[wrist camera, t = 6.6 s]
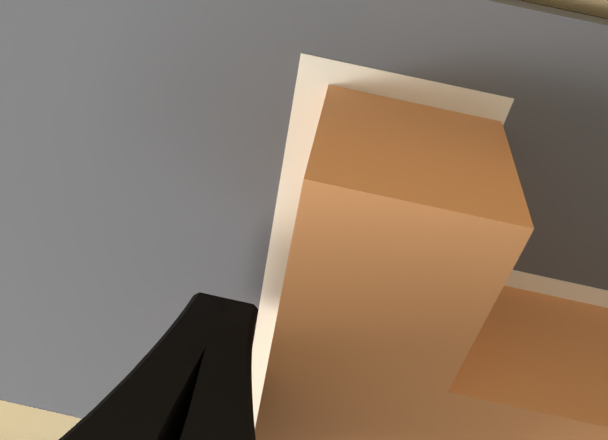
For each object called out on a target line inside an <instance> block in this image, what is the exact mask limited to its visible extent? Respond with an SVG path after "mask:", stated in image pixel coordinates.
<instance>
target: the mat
mask: <svg viewBox="0 0 608 440" xmlns="http://www.w3.org/2000/svg"><path fill="white" fill-rule="evenodd" d="M328 85H333V86H338V87H342V88H347V89H352V90H356V91H361V92H366V93H370V94H375V95H380V96H384V97H389V98H394V99H398V100H403V101H408V102H412V103H417V104H422V105H426V106H431V107H436V108H440V109H445V110H450V111H454V112H459V113H464V114H468V115H473V116H478V117H482V118H487V119H492V120H497V121H501V122H502V124H503V127H504V131H505V134H506V137H507V140H508V144H509V147H510V150H511V154H512V157H513V160H514V164H515V167H516V170H517V173H518V177H519V180H520V183H521V187H522V190H523V193H524V197H525V200H526V203H527V207H528V210H529V213H530V216H531V220H532V223H533V226H534V230H533V232H532V234H531V236H530V238H529V240H528V241H527V243H526V245H525V247H524V249H523V251H522V253H521V255H520V256H519V258H518V260H517V262H516V264H515V266H514V268H513V270H512V271H511V273H510V275H509V277H508V279H507V281H506V283H505V286H510V287H514V288H519V289H523V290H528V291H532V292H537V293H542V294H546V295H551V296H555V297H560V298H564V299H569V300H574V301H578V302H583V303H587V304H592V305H596V306H601V307H606V308H608V19H605V18H600V17H595V16H591V15H586V14H581V13H576V12H572V11H567V10H562V9H558V8H553V7H548V6H543V5H539V4H534V3H529V2H524V1H520V0H0V400H3V401H7V402H12V403H16V404H20V405H25V406H29V407H34V408H38V409H43V410H47V411H51V412H56V413H60V414H65V415H69V416H74V417H78V418H84V417H85V416H86V415H87V414H88V413H89V412H90V411H91V410H93V409H94V408H95V407H96V406H97V405H98V404H99V403H100V402H101V401H102V400H103V399H104V398H105V397H106V396H107V395H108V394H109V393H110V392H111V391H112V390H113V389H114V388H115V387H116V386H117V385H118V384H119V383H120V382H121V381H122V380H123V379H124V378H125V377H126V376H127V375H128V374H129V373H130V372H131V371H132V370H133V369H134V367H135V366H136V365H137V364H138V363H139V362H140V361H141V360H142V359H143V357H144V356H145V355H146V354H147V353H148V352H149V351H150V350H151V349H152V348H153V346H154V345H155V344H156V343H157V342H158V341H159V340H160V338H161V337H162V336H163V335H164V334H165V332H166V331H167V330H168V329H169V328H170V326H171V325H172V324H173V323H174V321H175V320H176V319H177V318H178V316H179V315H180V314H181V312H182V311H183V310H184V308H185V307H186V306H187V304H188V303H189V301H190V300H191V298H192V297H193V295H195V294H197V293H199V292H201V293H205V294H210V295H214V296H219V297H224V298H228V299H233V300H237V301H242V302H246V303H251V304H254V305H255V306H256V307H257V308H258V309H259V310H258V316H257V322H256V328H255V334H254V341H253V347H252V397H253V415H254V427H255V426H256V421H257V416H258V411H259V406H260V400H261V395H262V390H263V385H264V380H265V375H266V370H267V364H268V359H269V354H270V349H271V344H272V339H273V334H274V328H275V323H276V318H277V313H278V308H279V303H280V297H281V292H282V287H283V282H284V277H285V272H286V267H287V261H288V256H289V251H290V246H291V241H292V236H293V231H294V225H295V220H296V215H297V210H298V205H299V200H300V194H301V189H302V184H303V179H304V175H305V171H306V168H307V164H308V160H309V156H310V153H311V149H312V145H313V141H314V137H315V134H316V130H317V126H318V122H319V119H320V115H321V111H322V107H323V103H324V100H325V96H326V92H327V88H328Z"/></svg>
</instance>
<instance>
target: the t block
mask: <svg viewBox="0 0 608 440" xmlns="http://www.w3.org/2000/svg"><path fill="white" fill-rule="evenodd" d="M533 230H534V226H533V223H532V220H531V216H530V213H529V210H528V207H527V203H526V200H525V197H524V193H523V190H522V187H521V183H520V180H519V177H518V173H517V170H516V167H515V164H514V160H513V157H512V154H511V150H510V147H509V144H508V140H507V137H506V134H505V131H504V127H503V124H502V122H501V121H497V120H492V119H487V118H482V117H478V116H473V115H468V114H464V113H459V112H454V111H450V110H445V109H440V108H436V107H431V106H426V105H422V104H417V103H412V102H408V101H403V100H398V99H394V98H389V97H384V96H380V95H375V94H370V93H366V92H361V91H356V90H352V89H347V88H342V87H338V86H333V85H328V88H327V92H326V96H325V100H324V103H323V107H322V111H321V115H320V119H319V122H318V126H317V130H316V134H315V137H314V141H313V145H312V149H311V153H310V156H309V160H308V164H307V168H306V171H305V175H304V179H303V184H302V189H301V194H300V200H299V205H298V210H297V215H296V220H295V225H294V231H293V236H292V241H291V246H290V251H289V256H288V261H287V267H286V272H285V277H284V282H283V287H282V292H281V297H280V303H279V308H278V313H277V318H276V323H275V328H274V334H273V339H272V344H271V349H270V354H269V359H268V364H267V370H266V375H265V380H264V385H263V390H262V395H261V400H260V406H259V411H258V416H257V421H256V426H255V436H256V440H608V308H606V307H601V306H596V305H592V304H587V303H583V302H578V301H574V300H569V299H564V298H560V297H555V296H551V295H546V294H542V293H537V292H532V291H528V290H523V289H519V288H514V287H510V286H505V283H506V281H507V279H508V277H509V275H510V273H511V271H512V270H513V268H514V266H515V264H516V262H517V260H518V258H519V256H520V255H521V253H522V251H523V249H524V247H525V245H526V243H527V241H528V240H529V238H530V236H531V234H532V232H533Z"/></svg>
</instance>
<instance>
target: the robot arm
mask: <svg viewBox="0 0 608 440" xmlns="http://www.w3.org/2000/svg"><path fill="white" fill-rule="evenodd" d="M258 310H259V309H258V308H257V307H256V306H255V305H254V304H251V303H246V302H242V301H237V300H233V299H228V298H224V297H219V296H214V295H210V294H205V293H201V292H199V293H197V294H195V295H193V297H192V298H191V300H190V301H189V303H188V304H187V306H186V307H185V308H184V310H183V311H182V312H181V314H180V315H179V316H178V318H177V319H176V320H175V321H174V323H173V324H172V325H171V326H170V328H169V329H168V330H167V331H166V332H165V334H164V335H163V336H162V337H161V338H160V340H159V341H158V342H157V343H156V344H155V345H154V346H153V348H152V349H151V350H150V351H149V352H148V353H147V354H146V355H145V356H144V357H143V359H142V360H141V361H140V362H139V363H138V364H137V365H136V366H135V367H134V369H133V370H132V371H131V372H130V373H129V374H128V375H127V376H126V377H125V378H124V379H123V380H122V381H121V382H120V383H119V384H118V385H117V386H116V387H115V388H114V389H113V390H112V391H111V392H110V393H109V394H108V395H107V396H106V397H105V398H104V399H103V400H102V401H101V402H100V403H99V404H98V405H97V406H96V407H95V408H94V409H93V410H91V411H90V412H89V413H88V414H87V415H86V416H85V417H84V418H83V419H82V420H81V421H80V422H78V423H77V424H76V425H75V426H74V427H73V428H72V429H71V430H69V431H68V432H67V433H66V434H65V435H64V436H63V437H61V438H60V439H59V440H256V436H255V427H254V415H253V397H252V347H253V341H254V334H255V328H256V322H257V316H258Z"/></svg>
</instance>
